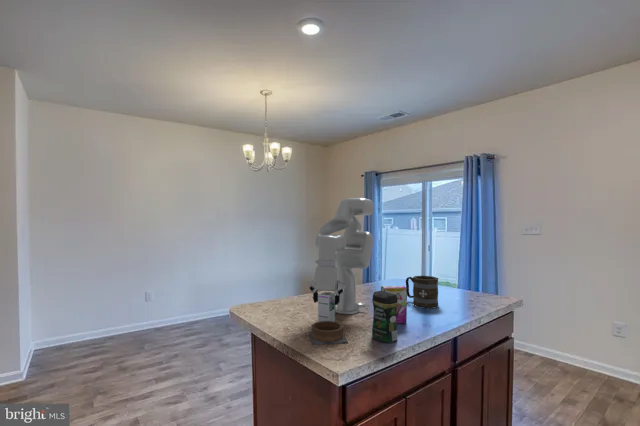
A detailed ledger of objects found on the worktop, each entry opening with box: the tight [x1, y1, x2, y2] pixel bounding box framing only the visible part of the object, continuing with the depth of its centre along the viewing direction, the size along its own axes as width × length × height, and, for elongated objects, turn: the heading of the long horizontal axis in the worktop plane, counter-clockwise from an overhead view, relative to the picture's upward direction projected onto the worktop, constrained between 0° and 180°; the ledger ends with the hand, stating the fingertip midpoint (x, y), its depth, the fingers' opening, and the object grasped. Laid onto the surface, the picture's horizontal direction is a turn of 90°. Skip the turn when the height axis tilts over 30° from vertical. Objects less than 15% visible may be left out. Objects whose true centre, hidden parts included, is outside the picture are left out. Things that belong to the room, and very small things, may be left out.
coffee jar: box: [371, 290, 398, 344], centre depth 131 cm, size 10×8×19 cm
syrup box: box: [317, 291, 337, 322], centre depth 146 cm, size 6×6×14 cm
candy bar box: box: [380, 285, 408, 325], centre depth 151 cm, size 11×5×16 cm, turn 100°
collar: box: [308, 321, 349, 346], centre depth 133 cm, size 14×14×4 cm
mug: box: [405, 275, 439, 309], centre depth 184 cm, size 20×14×15 cm
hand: (326, 303), depth 145 cm, fingers open, 9 cm apart
